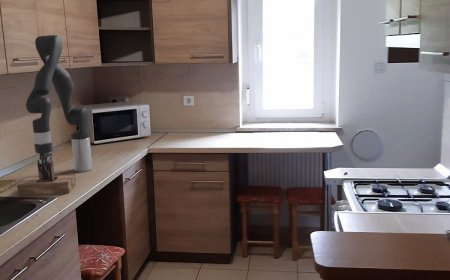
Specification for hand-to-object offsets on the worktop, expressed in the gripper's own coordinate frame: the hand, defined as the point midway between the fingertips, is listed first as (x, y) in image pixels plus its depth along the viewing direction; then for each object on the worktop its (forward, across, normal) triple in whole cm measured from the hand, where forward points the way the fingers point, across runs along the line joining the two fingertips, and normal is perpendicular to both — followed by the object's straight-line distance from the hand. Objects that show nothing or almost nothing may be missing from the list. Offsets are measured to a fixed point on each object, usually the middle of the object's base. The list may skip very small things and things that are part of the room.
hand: (47, 178), depth 220 cm
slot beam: (+6, 0, 0) cm, 6 cm away
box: (+5, 0, 0) cm, 5 cm away
